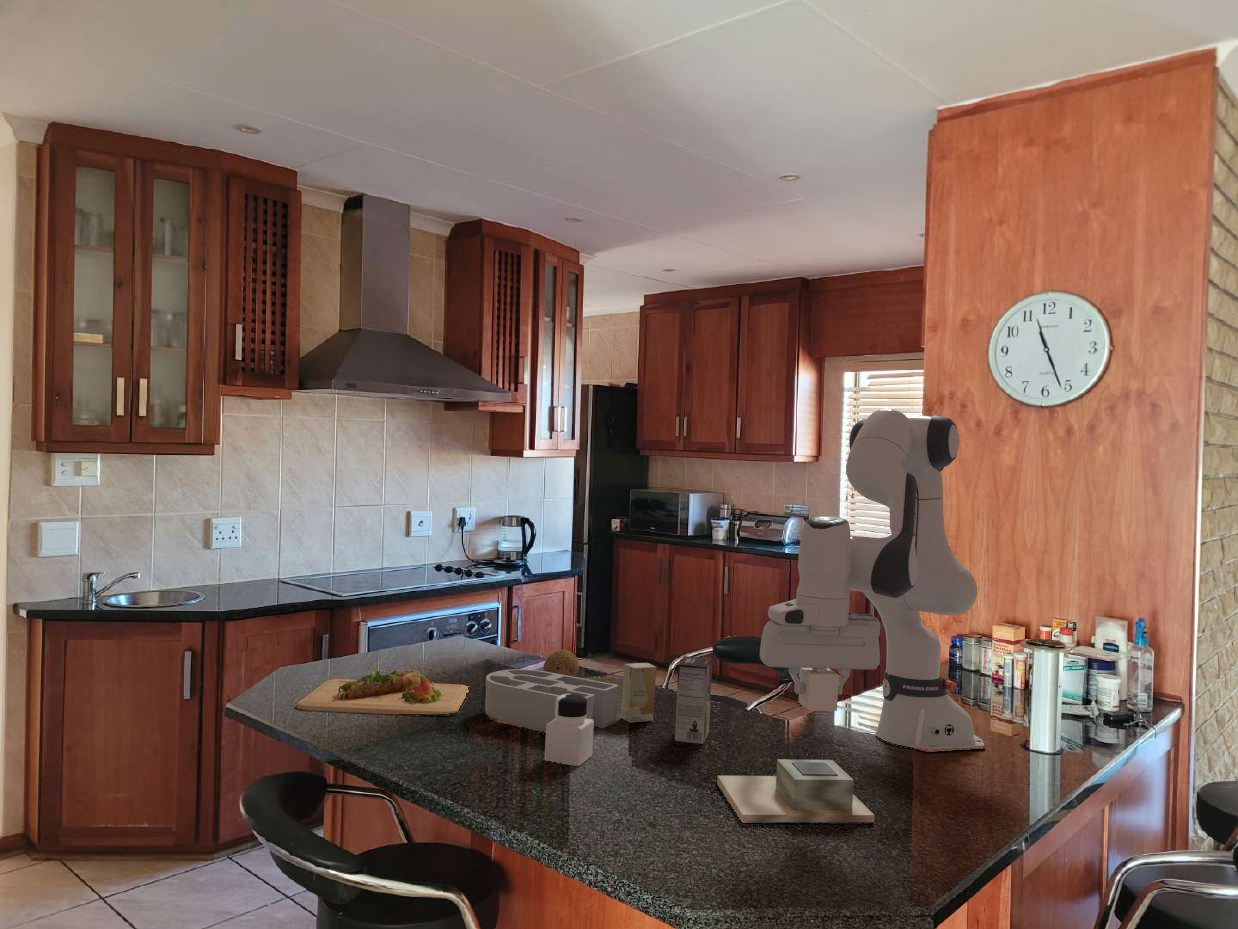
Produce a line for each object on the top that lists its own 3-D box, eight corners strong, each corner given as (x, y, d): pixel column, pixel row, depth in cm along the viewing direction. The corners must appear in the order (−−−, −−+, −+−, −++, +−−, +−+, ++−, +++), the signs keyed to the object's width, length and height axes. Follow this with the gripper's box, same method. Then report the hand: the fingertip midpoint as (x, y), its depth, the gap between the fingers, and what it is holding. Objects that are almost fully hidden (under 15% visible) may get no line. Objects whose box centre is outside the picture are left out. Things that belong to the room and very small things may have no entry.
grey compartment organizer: (578, 743, 183) (580, 700, 183) (468, 718, 197) (470, 678, 197) (617, 724, 198) (619, 685, 198) (513, 702, 211) (514, 665, 211)
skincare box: (629, 723, 198) (631, 667, 198) (620, 718, 202) (622, 663, 202) (654, 721, 201) (657, 666, 201) (645, 715, 205) (647, 661, 205)
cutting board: (472, 692, 220) (473, 662, 220) (455, 720, 196) (457, 685, 196) (327, 686, 219) (329, 655, 219) (294, 712, 196) (296, 678, 196)
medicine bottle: (592, 756, 175) (595, 694, 175) (579, 767, 168) (582, 702, 168) (558, 750, 177) (561, 689, 177) (543, 761, 170) (546, 697, 170)
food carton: (679, 729, 196) (683, 655, 196) (709, 732, 194) (713, 657, 194) (673, 741, 187) (677, 663, 187) (704, 744, 185) (708, 666, 185)
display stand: (835, 784, 165) (836, 748, 165) (874, 824, 147) (876, 783, 147) (717, 784, 163) (719, 746, 163) (742, 824, 145) (744, 782, 145)
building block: (826, 702, 156) (828, 663, 156) (836, 710, 151) (838, 670, 151) (798, 702, 155) (800, 662, 155) (807, 710, 150) (810, 669, 150)
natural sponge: (576, 695, 220) (578, 654, 220) (540, 693, 220) (542, 652, 220) (578, 686, 229) (580, 646, 229) (543, 684, 229) (545, 645, 229)
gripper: (873, 611, 158) (869, 690, 158) (759, 607, 155) (755, 687, 155) (888, 617, 151) (884, 700, 151) (769, 613, 149) (765, 697, 149)
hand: (817, 693), depth 153 cm, fingers closed on building block, 5 cm apart
